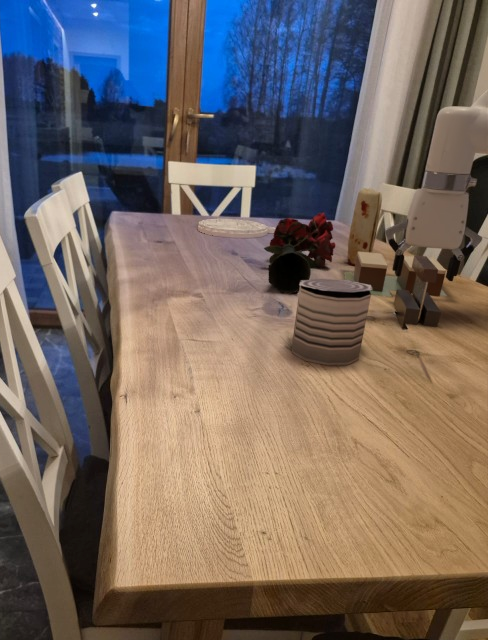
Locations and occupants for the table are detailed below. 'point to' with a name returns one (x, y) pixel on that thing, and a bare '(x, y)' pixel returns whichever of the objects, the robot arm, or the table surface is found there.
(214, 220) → the medallion
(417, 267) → the knife
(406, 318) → the knife block
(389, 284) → the green flat square board
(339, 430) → the table surface
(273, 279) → the rose vase
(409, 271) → the cake
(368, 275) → the cake slice
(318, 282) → the can
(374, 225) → the food model
